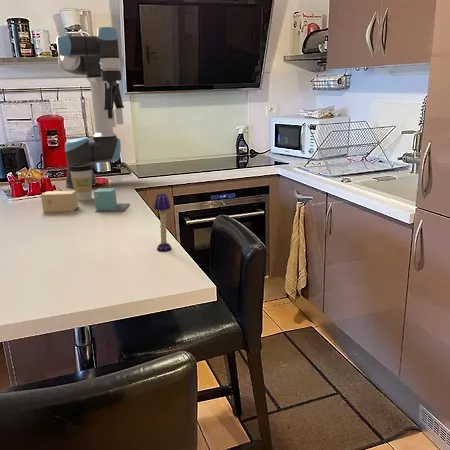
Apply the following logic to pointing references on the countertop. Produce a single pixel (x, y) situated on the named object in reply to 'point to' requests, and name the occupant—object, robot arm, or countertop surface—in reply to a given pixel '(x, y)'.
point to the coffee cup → (82, 181)
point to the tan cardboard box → (59, 201)
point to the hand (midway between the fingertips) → (116, 125)
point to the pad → (118, 208)
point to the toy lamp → (162, 220)
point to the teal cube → (105, 198)
